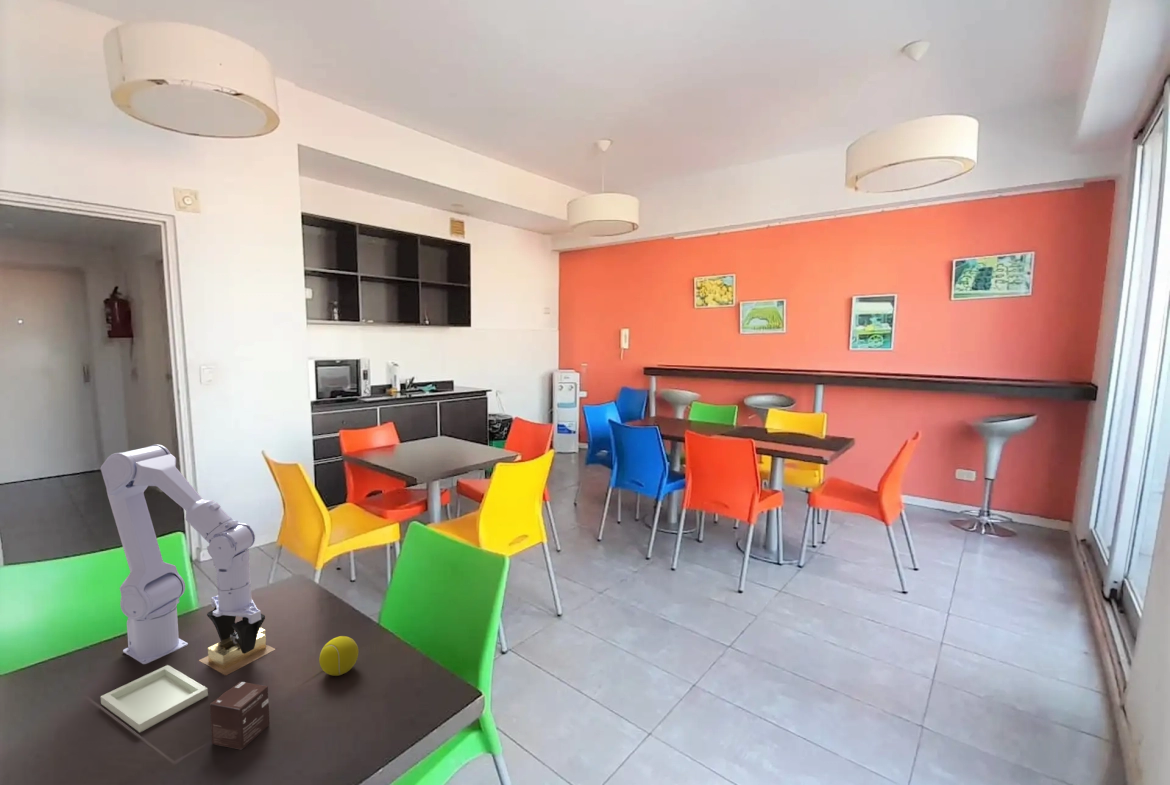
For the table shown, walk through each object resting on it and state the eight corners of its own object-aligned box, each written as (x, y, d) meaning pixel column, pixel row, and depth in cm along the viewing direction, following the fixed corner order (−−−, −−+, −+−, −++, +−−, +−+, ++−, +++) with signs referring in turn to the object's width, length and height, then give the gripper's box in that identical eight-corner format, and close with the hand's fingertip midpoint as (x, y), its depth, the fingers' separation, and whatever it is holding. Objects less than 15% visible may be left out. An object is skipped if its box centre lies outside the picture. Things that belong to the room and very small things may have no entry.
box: (241, 751, 84) (239, 710, 83) (210, 745, 85) (208, 704, 84) (270, 724, 90) (269, 685, 89) (241, 719, 91) (239, 680, 90)
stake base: (198, 662, 106) (198, 660, 106) (248, 637, 115) (248, 636, 115) (225, 677, 102) (225, 675, 102) (275, 650, 111) (275, 649, 111)
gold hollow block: (208, 661, 106) (207, 647, 106) (256, 638, 115) (255, 625, 114) (223, 669, 103) (223, 655, 103) (271, 645, 112) (270, 632, 112)
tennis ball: (339, 658, 109) (338, 626, 108) (366, 665, 106) (365, 633, 106) (312, 678, 102) (311, 645, 101) (339, 686, 100) (338, 652, 99)
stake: (230, 654, 108) (229, 634, 108) (237, 650, 110) (236, 631, 109) (240, 659, 107) (239, 639, 106) (247, 655, 108) (246, 636, 108)
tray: (101, 705, 93) (100, 696, 93) (168, 673, 103) (167, 664, 102) (140, 734, 87) (139, 724, 87) (207, 697, 96) (207, 688, 96)
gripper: (193, 584, 107) (197, 645, 108) (233, 601, 100) (237, 666, 101) (230, 570, 113) (233, 629, 114) (269, 585, 106) (272, 647, 108)
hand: (237, 645), depth 108 cm, fingers open, 7 cm apart
